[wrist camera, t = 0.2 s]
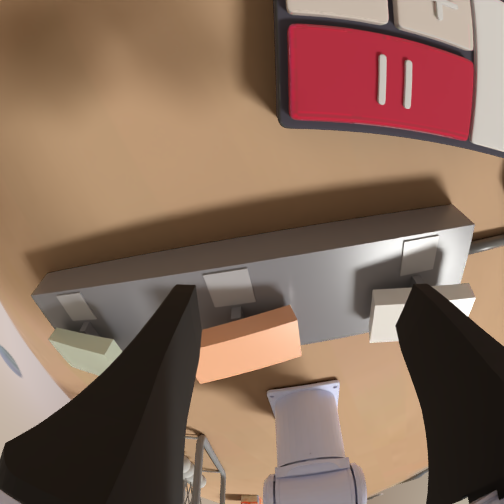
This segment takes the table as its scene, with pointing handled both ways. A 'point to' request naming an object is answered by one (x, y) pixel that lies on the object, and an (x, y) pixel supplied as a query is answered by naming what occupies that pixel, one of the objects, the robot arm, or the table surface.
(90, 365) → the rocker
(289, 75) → the calculator
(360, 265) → the power strip
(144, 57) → the table surface
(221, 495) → the newton's cradle
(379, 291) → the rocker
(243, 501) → the stack of blocks
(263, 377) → the table surface
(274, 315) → the rocker middle
